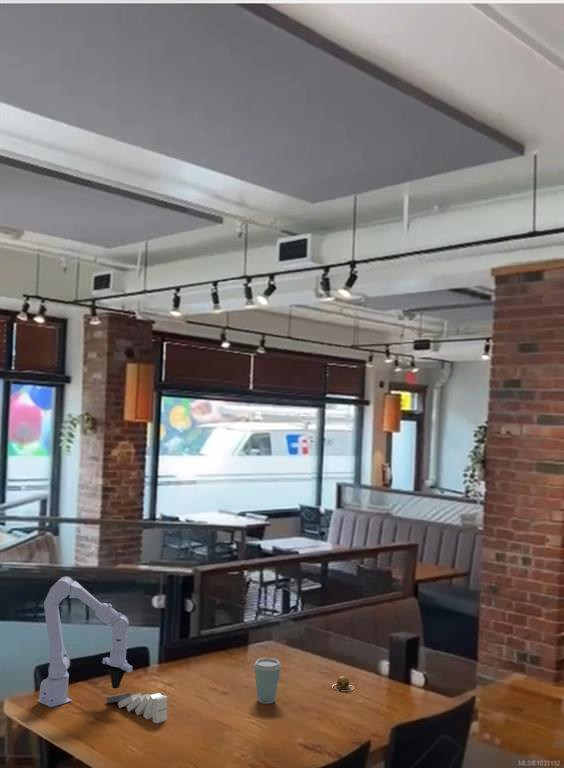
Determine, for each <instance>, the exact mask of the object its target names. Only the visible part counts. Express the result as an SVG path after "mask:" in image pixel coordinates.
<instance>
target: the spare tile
mask: <svg viewBox="0 0 564 768" xmlns="http://www.w3.org/2000/svg"><path fill="white" fill-rule="evenodd" d="M130 696H132V695H131V692H130V691H129V692H124V693H119V694H114V695H111V696H108V697H106V703H107V704H110V703H118V702H120V701H122V700H124V699H126V698H128V697H130Z"/></svg>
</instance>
